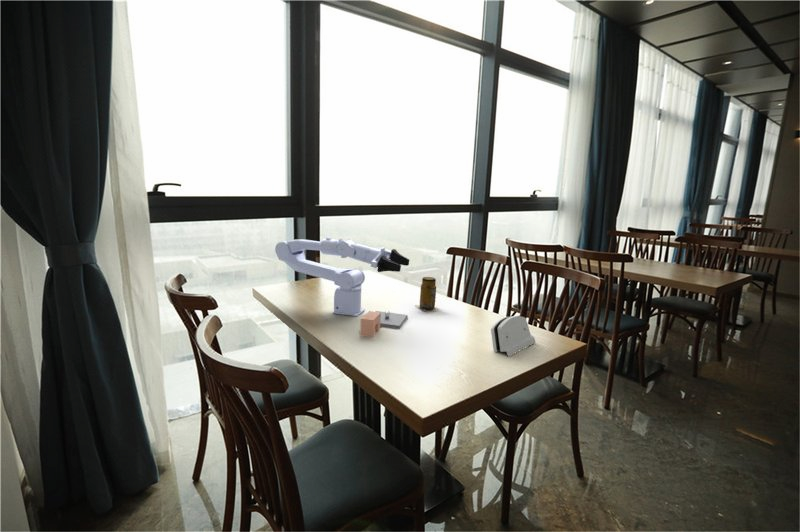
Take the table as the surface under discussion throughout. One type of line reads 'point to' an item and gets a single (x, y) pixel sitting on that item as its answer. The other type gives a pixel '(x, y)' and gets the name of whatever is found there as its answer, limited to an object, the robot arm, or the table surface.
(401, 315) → the plate
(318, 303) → the table surface
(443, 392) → the table surface
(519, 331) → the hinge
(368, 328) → the block
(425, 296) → the condiment
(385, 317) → the steel stub
